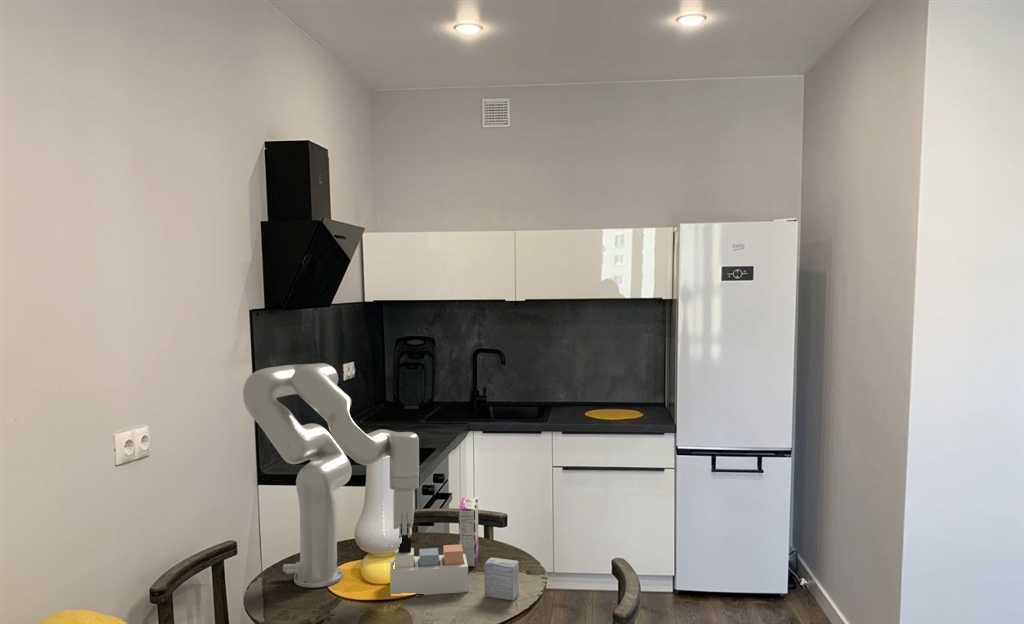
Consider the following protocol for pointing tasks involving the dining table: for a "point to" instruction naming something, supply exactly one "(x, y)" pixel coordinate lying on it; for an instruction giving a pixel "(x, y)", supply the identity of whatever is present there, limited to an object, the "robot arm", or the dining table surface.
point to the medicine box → (501, 578)
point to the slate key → (428, 557)
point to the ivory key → (404, 559)
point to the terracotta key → (452, 554)
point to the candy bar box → (469, 529)
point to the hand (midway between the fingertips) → (404, 551)
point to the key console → (429, 578)
